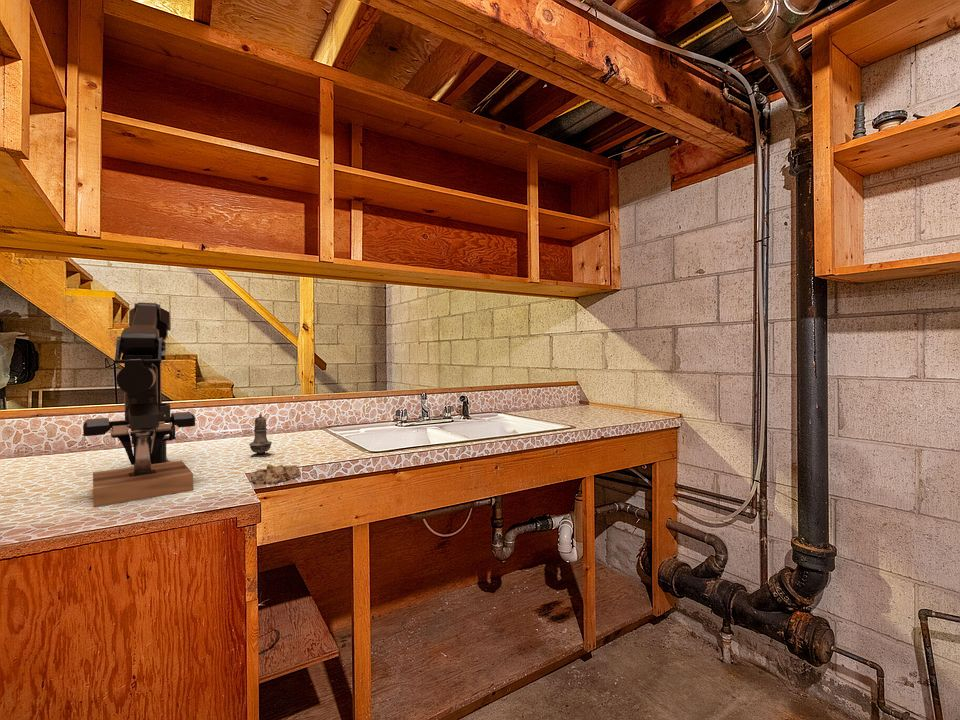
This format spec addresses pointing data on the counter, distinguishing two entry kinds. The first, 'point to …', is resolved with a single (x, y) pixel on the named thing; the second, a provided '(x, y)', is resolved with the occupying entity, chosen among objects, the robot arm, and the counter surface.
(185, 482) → the socket block
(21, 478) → the counter surface
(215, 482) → the counter surface
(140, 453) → the pin
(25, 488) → the counter surface
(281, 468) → the mineral rock
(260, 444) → the salt shaker
